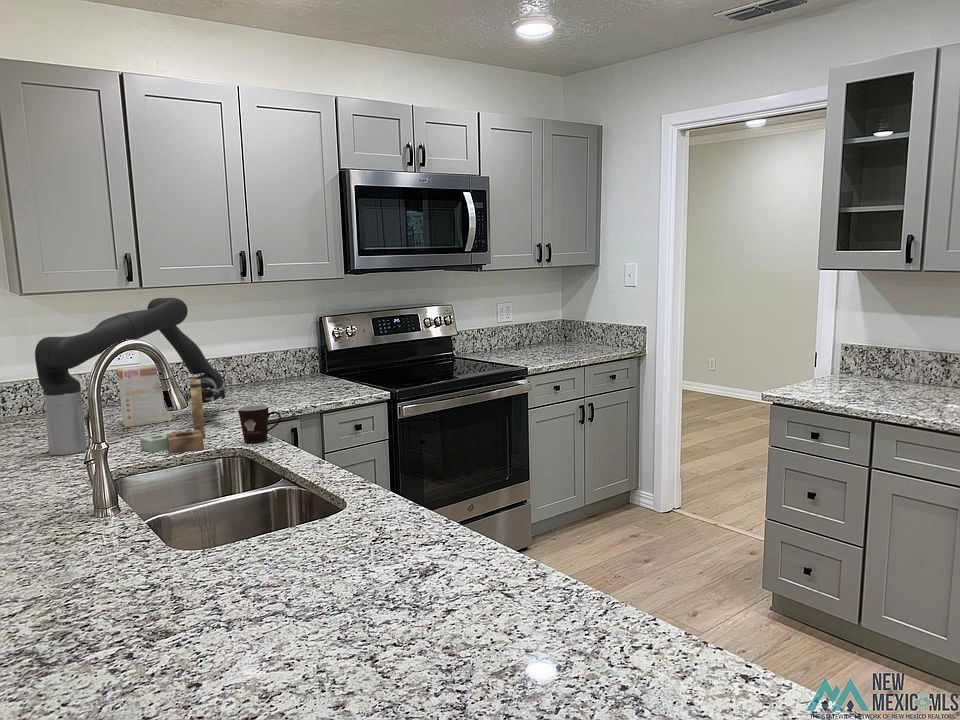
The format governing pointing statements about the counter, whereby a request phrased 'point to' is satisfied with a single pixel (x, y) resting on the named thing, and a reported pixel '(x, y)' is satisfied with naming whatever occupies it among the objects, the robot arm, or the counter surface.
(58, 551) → the counter surface
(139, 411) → the coffeecake box
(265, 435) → the coffee mug
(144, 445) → the bead
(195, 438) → the slotted wooden block
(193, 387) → the tan wooden bar
